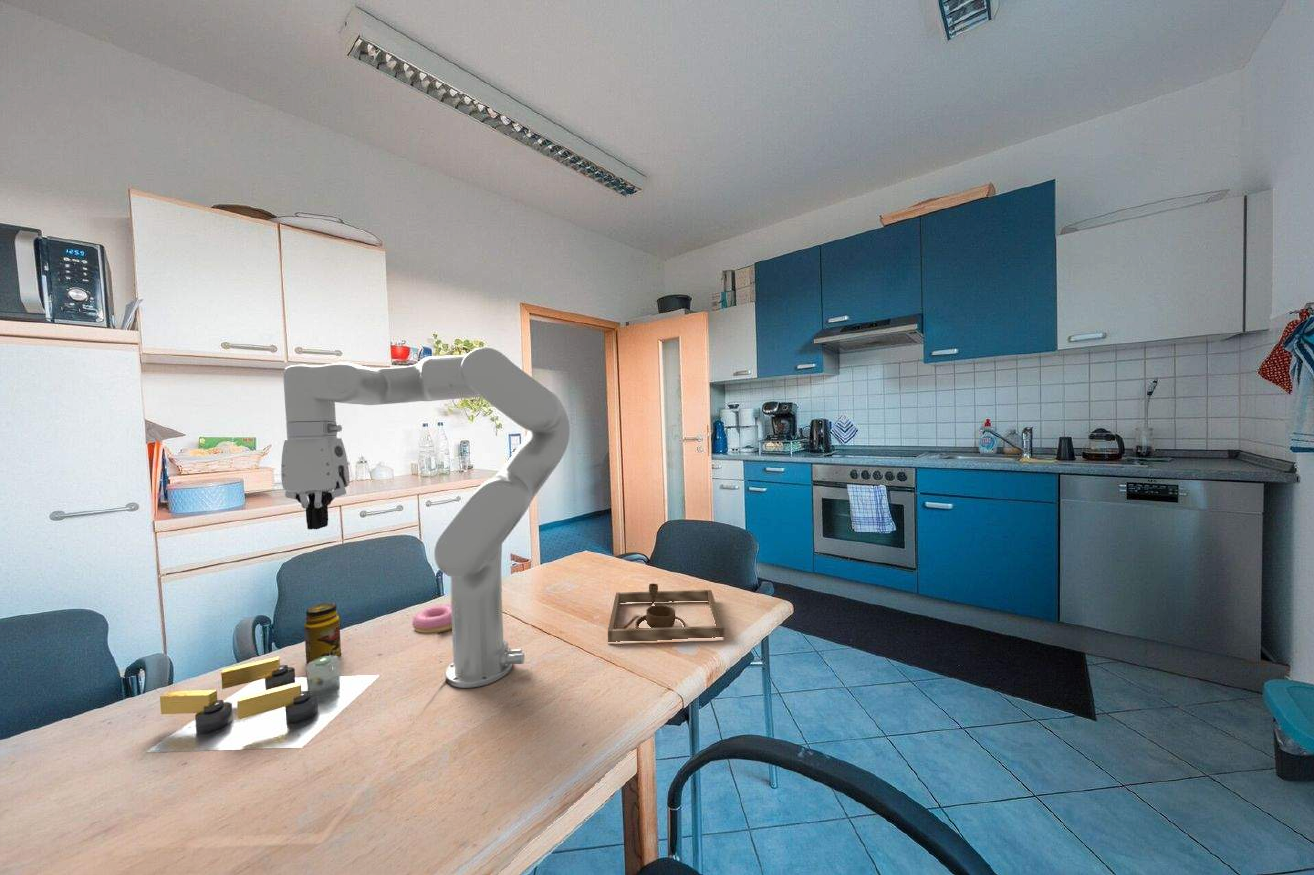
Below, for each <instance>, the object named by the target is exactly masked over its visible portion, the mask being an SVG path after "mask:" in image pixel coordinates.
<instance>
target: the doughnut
mask: <svg viewBox="0 0 1314 875" xmlns="http://www.w3.org/2000/svg"><path fill="white" fill-rule="evenodd" d="M411 625H412V627H413V630H414V631H416V632H418V633H422V634H423V633H425V634H427V633H429V634H430V633H435V632H436V633H437V634H440V633H444V632H447V631H449V630H452V614H451V604H443V605H442V604H440V605H435V606H431V607H430V606H429V607H428V608H425V609H423V610H421V611H418V613H417V614H416V615H415V616H414V617H413V620H412V624H411Z"/></svg>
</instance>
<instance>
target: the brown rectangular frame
mask: <svg viewBox="0 0 1314 875" xmlns="http://www.w3.org/2000/svg"><path fill="white" fill-rule="evenodd" d="M714 597H715V596H714V594H713V591H712V590H711V589H695V590H691V589H690V590H689V589H688V590H663V591H659V590H658V593H657V595H655V598H654V599H655V602H669V601H672V602H674V601H708V602H709V603H708V602H707V603H708V606H709V605H710V607H709V609H710V608H711V610H710V612H711V611H712V613H711V615H712V614H713V617H714V620H715V623H714V625H708V626H707V625H705V626H704V625H702V626H699V625H698V626H685V627H682V626H676V627H675V626H672V627H665V628H636V627H633V628H625V629H622V628H616V629H615V626H616V627H617V623H616V621H617V622H618V618H617V616H619V612H618V610H619V611H620V607H619V605H620V603H626V602H651V599H652V596H651V595H650V594H649V591H629V592H628V591H625V592H621V591H620V592H615V595H614V601H613V605H612V610H611V615H610V620H609V623H608V627H607V628H608V629H607V643H608V642H616V641H617V642H620V641H657V640H672V639H688V638H712V637H713V638H715V637H724V638H725V626H724V624H723V621H722V617H721V615H720V612H719V609H718V606H717V603H716V599H715V598H714ZM620 606H621V605H620ZM713 617H712V618H713ZM714 620H713V621H714ZM715 624H716V626H715Z"/></svg>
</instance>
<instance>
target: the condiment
mask: <svg viewBox="0 0 1314 875" xmlns="http://www.w3.org/2000/svg"><path fill="white" fill-rule="evenodd" d="M337 610H338V609H337V605H336V604H335V603H332V602H327V603H326V602H325V603H320V604H317V605H316V604H315V605H313V606H311V607H309V608H308V609H307V610H306V612H305V615H306V617H305V620H306V621H305V623H304V627H303V628H304V629H303V630H304V645H305V662H306V665H307V664H309V663H310V662H312V661H313V660H316V659H318V658H320V657H323V656H338V657H339V658H340V657H342V647H341V645H342V643H341V627H340V625H341V624H340V616H339V615H338V611H337Z"/></svg>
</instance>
